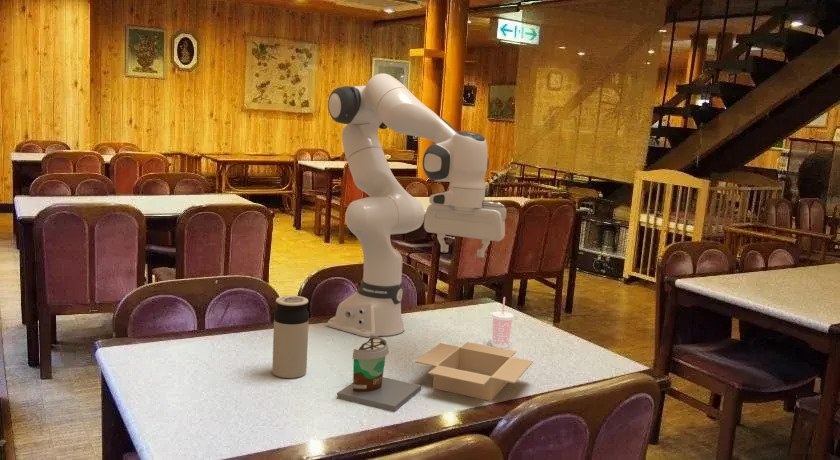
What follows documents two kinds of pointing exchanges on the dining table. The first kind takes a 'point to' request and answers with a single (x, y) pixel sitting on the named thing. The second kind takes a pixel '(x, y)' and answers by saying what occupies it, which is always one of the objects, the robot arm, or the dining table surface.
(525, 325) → the dining table surface
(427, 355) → the carton
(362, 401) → the slate board
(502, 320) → the beverage cup
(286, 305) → the travel mug
